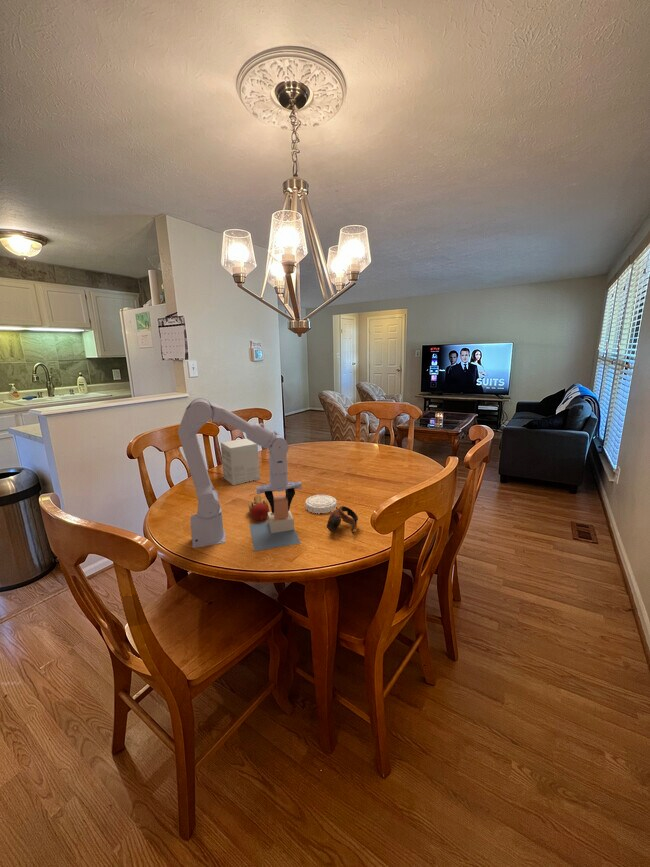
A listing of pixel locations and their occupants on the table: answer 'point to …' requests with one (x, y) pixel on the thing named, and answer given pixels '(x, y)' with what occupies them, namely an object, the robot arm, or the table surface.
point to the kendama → (258, 508)
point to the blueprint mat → (271, 537)
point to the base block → (280, 523)
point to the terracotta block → (280, 507)
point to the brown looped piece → (338, 513)
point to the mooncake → (320, 504)
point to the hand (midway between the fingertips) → (280, 510)
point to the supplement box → (240, 461)
